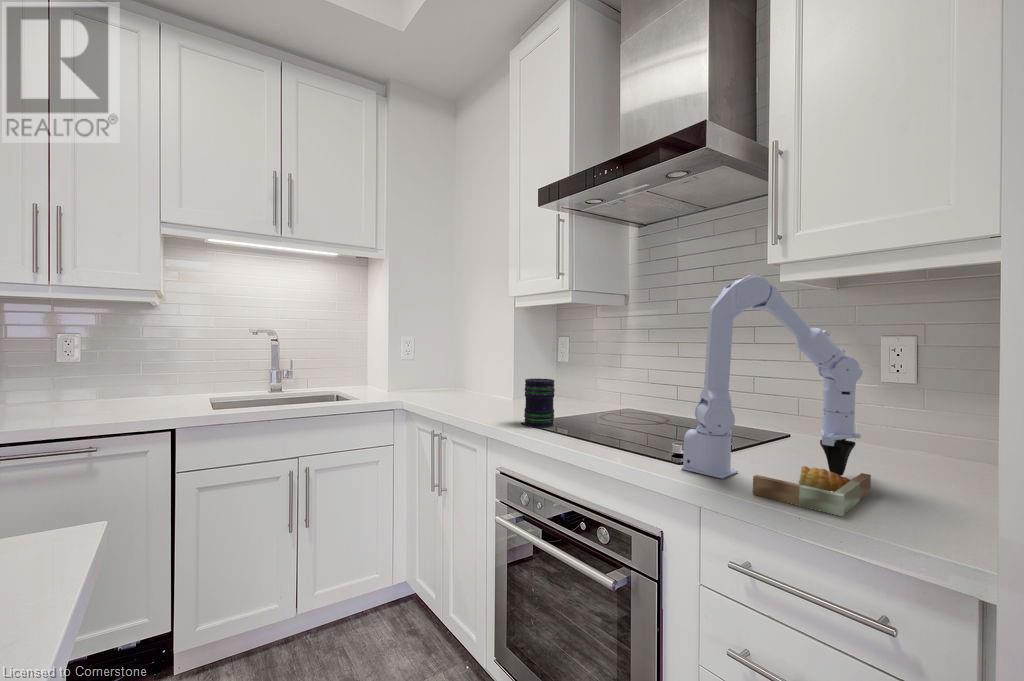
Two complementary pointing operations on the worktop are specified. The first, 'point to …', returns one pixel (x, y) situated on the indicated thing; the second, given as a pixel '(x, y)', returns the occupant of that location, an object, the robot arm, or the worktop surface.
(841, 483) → the pastry
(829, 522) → the worktop surface
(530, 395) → the storage jar
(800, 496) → the two-tone corner bracket
